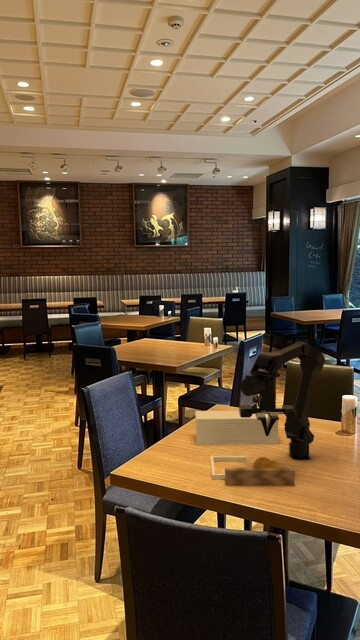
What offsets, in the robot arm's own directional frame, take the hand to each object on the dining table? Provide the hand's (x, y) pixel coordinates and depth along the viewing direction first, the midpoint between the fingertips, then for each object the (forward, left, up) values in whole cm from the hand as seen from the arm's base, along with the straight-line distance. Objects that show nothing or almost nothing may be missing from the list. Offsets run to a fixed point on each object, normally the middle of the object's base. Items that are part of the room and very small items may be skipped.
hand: (266, 435), depth 164 cm
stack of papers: (+8, -29, -12) cm, 33 cm away
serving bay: (+12, 0, -12) cm, 17 cm away
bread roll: (0, 0, -12) cm, 13 cm away
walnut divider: (+4, +12, -12) cm, 17 cm away
